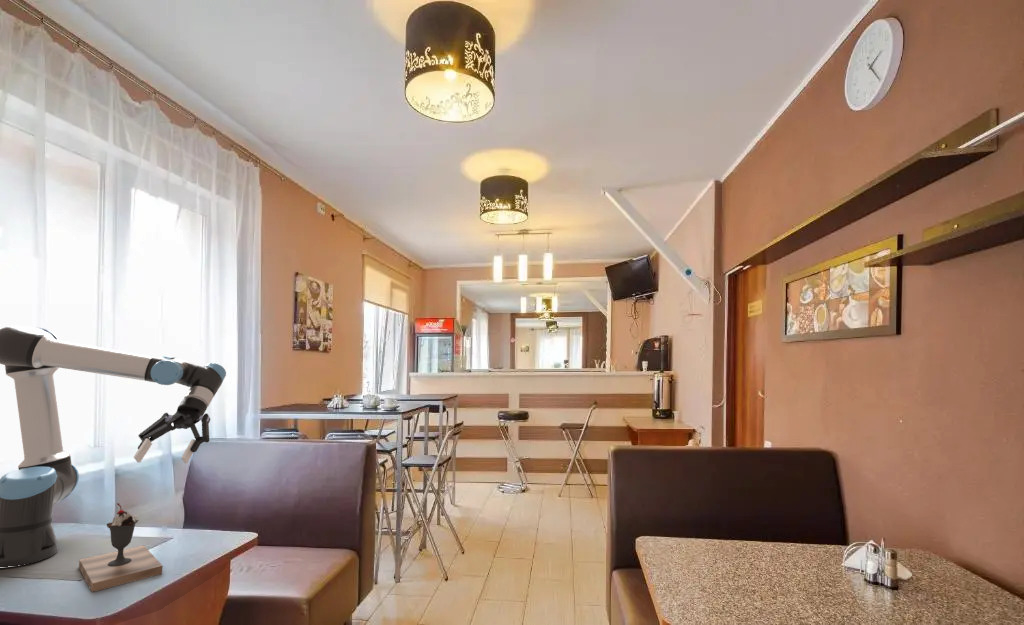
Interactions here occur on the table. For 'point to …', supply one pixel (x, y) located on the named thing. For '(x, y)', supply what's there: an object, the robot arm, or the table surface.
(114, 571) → the brown flat wooden slab
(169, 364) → the robot arm
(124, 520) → the sundae
